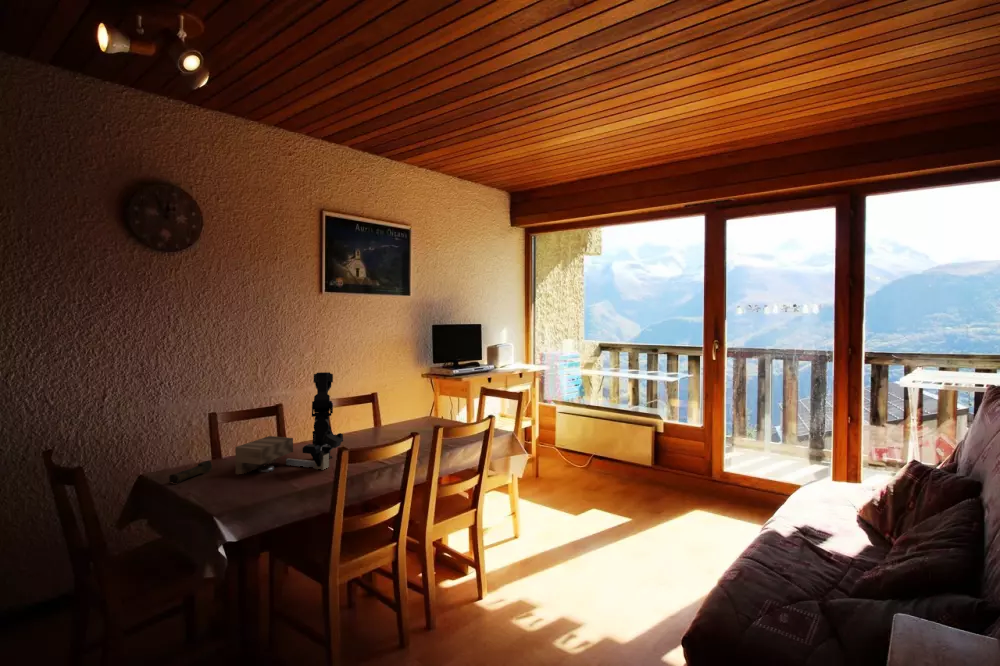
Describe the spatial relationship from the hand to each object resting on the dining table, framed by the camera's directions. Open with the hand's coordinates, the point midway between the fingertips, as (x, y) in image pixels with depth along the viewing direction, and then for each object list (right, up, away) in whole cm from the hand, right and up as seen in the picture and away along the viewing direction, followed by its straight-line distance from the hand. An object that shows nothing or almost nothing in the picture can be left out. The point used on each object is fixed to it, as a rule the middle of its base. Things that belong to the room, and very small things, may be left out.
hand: (321, 465), depth 225 cm
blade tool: (-7, -1, +2) cm, 8 cm away
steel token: (-22, -2, -3) cm, 22 cm away
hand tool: (-47, -2, -13) cm, 49 cm away
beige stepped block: (-23, -1, -1) cm, 23 cm away
